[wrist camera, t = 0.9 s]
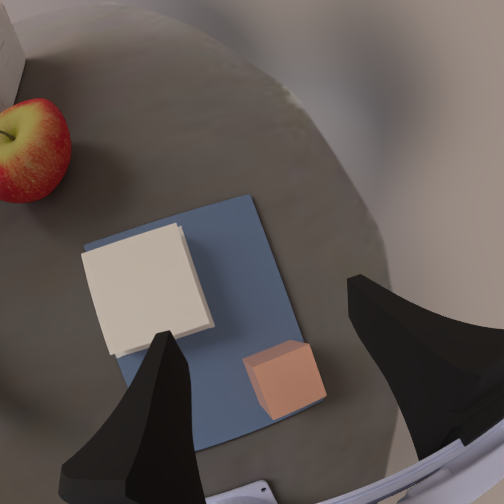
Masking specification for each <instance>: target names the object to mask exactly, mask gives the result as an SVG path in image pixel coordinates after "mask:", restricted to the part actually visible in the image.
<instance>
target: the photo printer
mask: <svg viewBox="0 0 504 504" xmlns="http://www.w3.org/2000/svg"><path fill="white" fill-rule="evenodd" d="M25 60H26V57H25V53H24V51H23V49H22V47H21V44H20V42H19V40H18V38H17V35H16V33H15V31H14V28H13V26H12V24H11V21H10V19H9V17H8V14H7V12H6V9H5V6H4V5H3V3H2V2H1V1H0V113H1V112H3V111H4V110H6V109H7V108H9V107H11V106H13V105H14V101H15V98H16V94H17V91H18V87H19V84H20V80H21V76H22V73H23V69H24V65H25Z"/></svg>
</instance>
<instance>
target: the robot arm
mask: <svg viewBox="0 0 504 504" xmlns="http://www.w3.org/2000/svg"><path fill="white" fill-rule="evenodd" d="M347 289H348V312H349V318H350V320H351V322H352V324H353V326H354V328H355V330H356V332H357V334H358V336H359V338H360V340H361V341H362V343H363V344H364V346H365V347H366V349H367V350H368V352H369V353H370V355H371V356H372V358H373V359H374V361H375V362H376V364H377V366H378V367H379V369H380V370H381V372H382V373H383V375H384V377H385V378H386V380H387V382H388V384H389V386H390V388H391V390H392V392H393V394H394V396H395V398H396V400H397V403H398V405H399V407H400V410H401V412H402V414H403V417H404V419H405V422H406V424H407V427H408V429H409V432H410V434H411V437H412V440H413V443H414V446H415V449H416V453H417V456H418V459H419V462H417V463H415V464H414V465H411V466H409V467H407V468H405V469H404V470H401V471H399V472H397V473H395V474H393V475H391V476H388V477H386V478H384V479H382V480H379V481H377V482H375V483H372V484H370V485H367V486H365V487H362V488H360V489H357V490H355V491H352V492H349V493H346V494H344V495H341V496H338V497H335V498H332V499H329V500H326V501H323V502H319V503H316V504H374V503H377V502H379V501H381V500H384V499H385V498H388V497H390V496H393V495H395V494H397V493H399V492H401V491H403V490H405V489H407V488H409V487H411V486H413V485H415V484H417V483H419V482H420V483H419V484H417V485H415V486H414V487H412V488H410V489H409V490H407V492H406V495H405V496H404V497H403V498H402V499H400V500H399V501H398V502H397V504H470V503H471V502H473V501H474V500H475V499H477V498H478V497H480V496H481V495H482V494H484V493H485V492H486V491H488V490H489V489H490V488H492V487H493V486H494V485H495V484H497V483H498V482H499V481H500V480H502V479H503V478H504V329H494V328H488V327H482V326H477V325H472V324H468V323H464V322H461V321H457V320H453V319H450V318H447V317H444V316H442V315H439V314H436V313H434V312H431V311H429V310H426V309H424V308H422V307H420V306H418V305H416V304H414V303H411V302H409V301H407V300H405V299H403V298H402V297H400V296H398V295H396V294H394V293H392V292H391V291H389V290H387V289H385V288H384V287H382V286H380V285H379V284H377V283H375V282H373V281H372V280H370V279H368V278H367V277H365V276H363V275H361V274H360V275H357V276H354V277H351V278H348V279H347ZM426 478H427V479H426ZM421 481H422V482H421ZM262 488H266V489H265V490H261V489H262ZM58 494H59V496H60V497H61V498H62V499H63V500H64V501H66V502H67V503H69V504H277V502H276V500H275V498H274V496H273V494H272V492H271V490H270V488H269V486H268V484H267V482H266V481H265V480H259V481H256V482H254V483H251V484H248V485H245V486H242V487H239V488H236V489H233V490H230V491H227V492H224V493H221V494H218V495H214V496H211V497H207V498H205V497H204V493H203V489H202V484H201V480H200V476H199V471H198V466H197V461H196V455H195V449H194V443H193V432H192V391H191V379H190V371H189V365H188V362H187V360H186V358H185V356H184V355H183V353H182V351H181V349H180V347H179V346H178V344H177V342H176V340H175V338H174V336H173V335H172V333H171V331H170V330H168V331H164V332H160V333H156V334H155V336H154V338H153V340H152V342H151V344H150V346H149V348H148V351H147V353H146V355H145V357H144V359H143V361H142V363H141V365H140V367H139V369H138V371H137V373H136V375H135V377H134V379H133V380H132V382H131V384H130V386H129V388H128V389H127V391H126V393H125V395H124V396H123V398H122V399H121V401H120V403H119V404H118V406H117V407H116V408H115V410H114V411H113V413H112V414H111V415H110V417H109V418H108V419H107V420H106V422H105V423H104V424H103V425H102V427H101V428H100V429H99V430H98V432H97V433H96V434H95V435H94V436H93V437H92V438H91V439H90V440H89V441H88V442H87V443H86V444H85V445H84V446H83V447H82V448H81V449H80V450H79V451H78V452H77V453H76V454H75V455H74V456H72V457H71V458H70V459H69V460H68V461H67V462H65V463H64V464H63V465H62V468H61V475H60V482H59V490H58Z"/></svg>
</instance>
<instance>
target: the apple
mask: <svg viewBox="0 0 504 504" xmlns="http://www.w3.org/2000/svg"><path fill="white" fill-rule="evenodd" d="M70 158H71V139H70V133H69V129H68V126H67V124H66V121H65V119H64V117H63V115H62V113H61V112H60V110H59V109H58V108H57V106H56V105H55V104H53V103H52V102H51V101H49V100H46V99H43V98H37V99H31V100H27V101H23V102H21V103H18V104H16V105H13V106H11V107H9V108H7V109H6V110H4V111H3V112H1V113H0V200H3V201H6V202H11V203H27V202H33V201H37V200H40V199H42V198H44V197H46V196H48V195H49V194H50V193H51V192H52V191H53V190H54V189H55V188H56V187H57V185H58V184H59V183H60V181H61V180H62V178H63V176H64V175H65V173H66V171H67V168H68V166H69V163H70Z"/></svg>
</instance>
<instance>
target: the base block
mask: <svg viewBox="0 0 504 504" xmlns="http://www.w3.org/2000/svg"><path fill="white" fill-rule="evenodd" d="M81 256H82V260H83V265H84V269H85V273H86V277H87V281H88V285H89V288H90V292H91V296H92V299H93V303H94V306H95V310H96V313H97V316H98V320H99V323H100V326H101V329H102V332H103V335H104V338H105V341H106V344H107V347H108V350H109V353H110V355H112V354H116V353H119V352H122V351H126V350H129V349H132V348H136V347H139V346H142V345H145V344H148V343H151V342H152V340H153V338H154V336H155V334H156V333H160V332H164V331H168V330H170V331H171V333H172V335H176V334H179V333H182V332H186V331H189V330H191V329H194V328H197V327H200V326H203V325H206V324H209V320H208V317H207V314H206V311H205V309H204V306H203V303H202V300H201V297H200V294H199V291H198V288H197V285H196V282H195V279H194V276H193V274H192V270H191V267H190V264H189V261H188V258H187V255H186V252H185V249H184V246H183V243H182V239H181V236H180V233H179V230H178V227H177V223H173V224H170V225H167V226H164V227H160V228H157V229H154V230H151V231H148V232H145V233H142V234H138V235H135V236H132V237H129V238H126V239H123V240H120V241H117V242H114V243H111V244H108V245H105V246H102V247H99V248H96V249H94V250H91V251H88V252H85V253H82V254H81Z"/></svg>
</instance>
